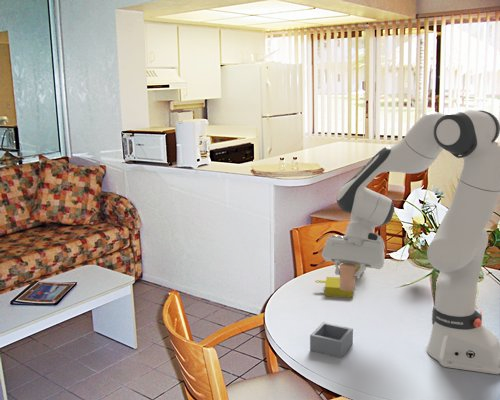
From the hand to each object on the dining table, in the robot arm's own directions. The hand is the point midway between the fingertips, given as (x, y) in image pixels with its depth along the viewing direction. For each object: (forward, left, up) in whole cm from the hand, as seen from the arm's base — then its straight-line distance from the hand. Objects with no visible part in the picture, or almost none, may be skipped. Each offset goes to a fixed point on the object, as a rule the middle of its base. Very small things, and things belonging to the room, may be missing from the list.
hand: (346, 275), depth 175 cm
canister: (0, -1, -4) cm, 4 cm away
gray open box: (0, +12, -19) cm, 23 cm away
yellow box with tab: (+15, -29, -20) cm, 39 cm away
